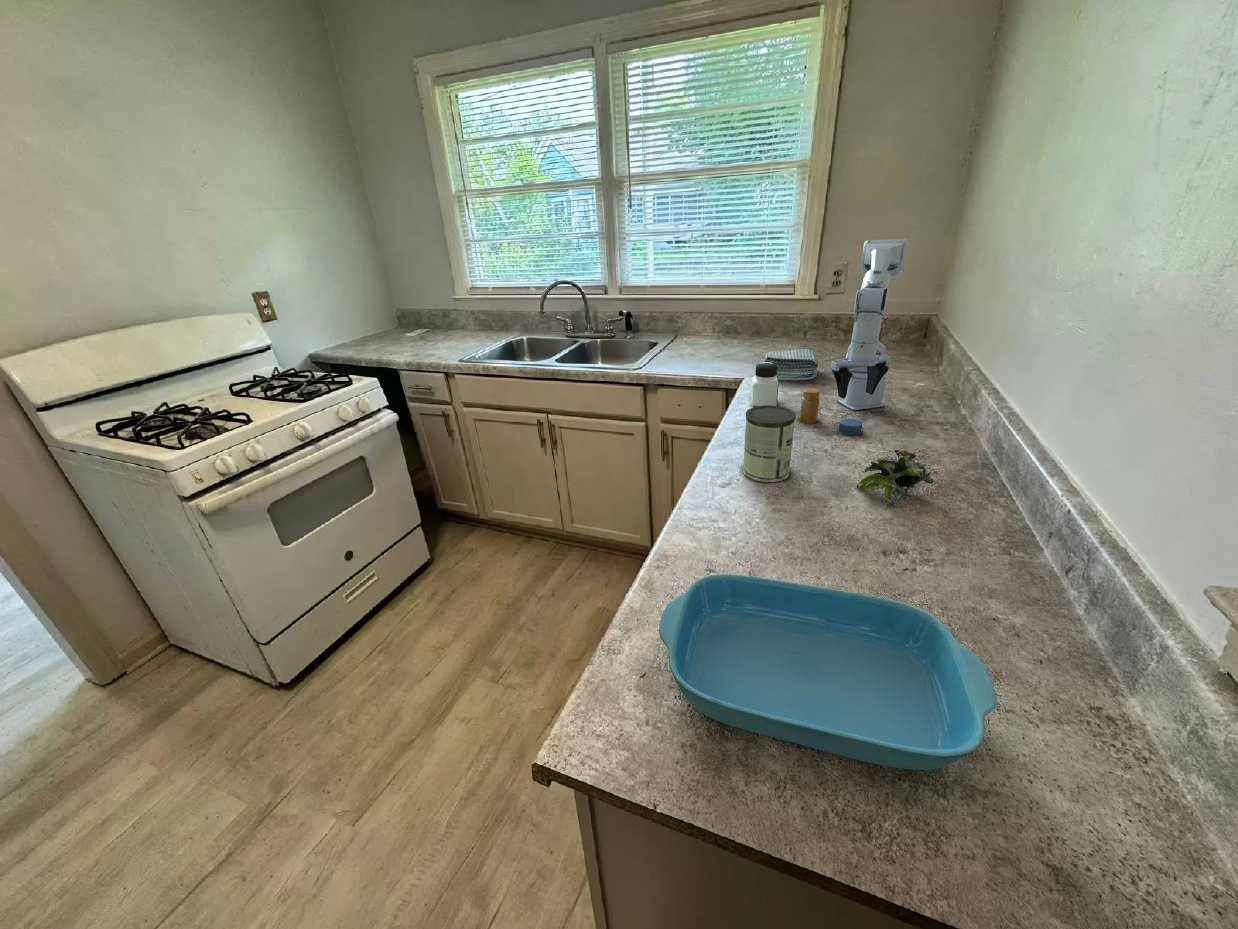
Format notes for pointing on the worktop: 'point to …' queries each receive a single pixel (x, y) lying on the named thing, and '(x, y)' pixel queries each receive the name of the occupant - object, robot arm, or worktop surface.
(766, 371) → the medicine bottle
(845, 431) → the jar lid
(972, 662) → the casserole dish
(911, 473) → the green leafy plant
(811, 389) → the honey jar
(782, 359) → the towel
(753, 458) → the coffee can
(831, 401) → the worktop surface
